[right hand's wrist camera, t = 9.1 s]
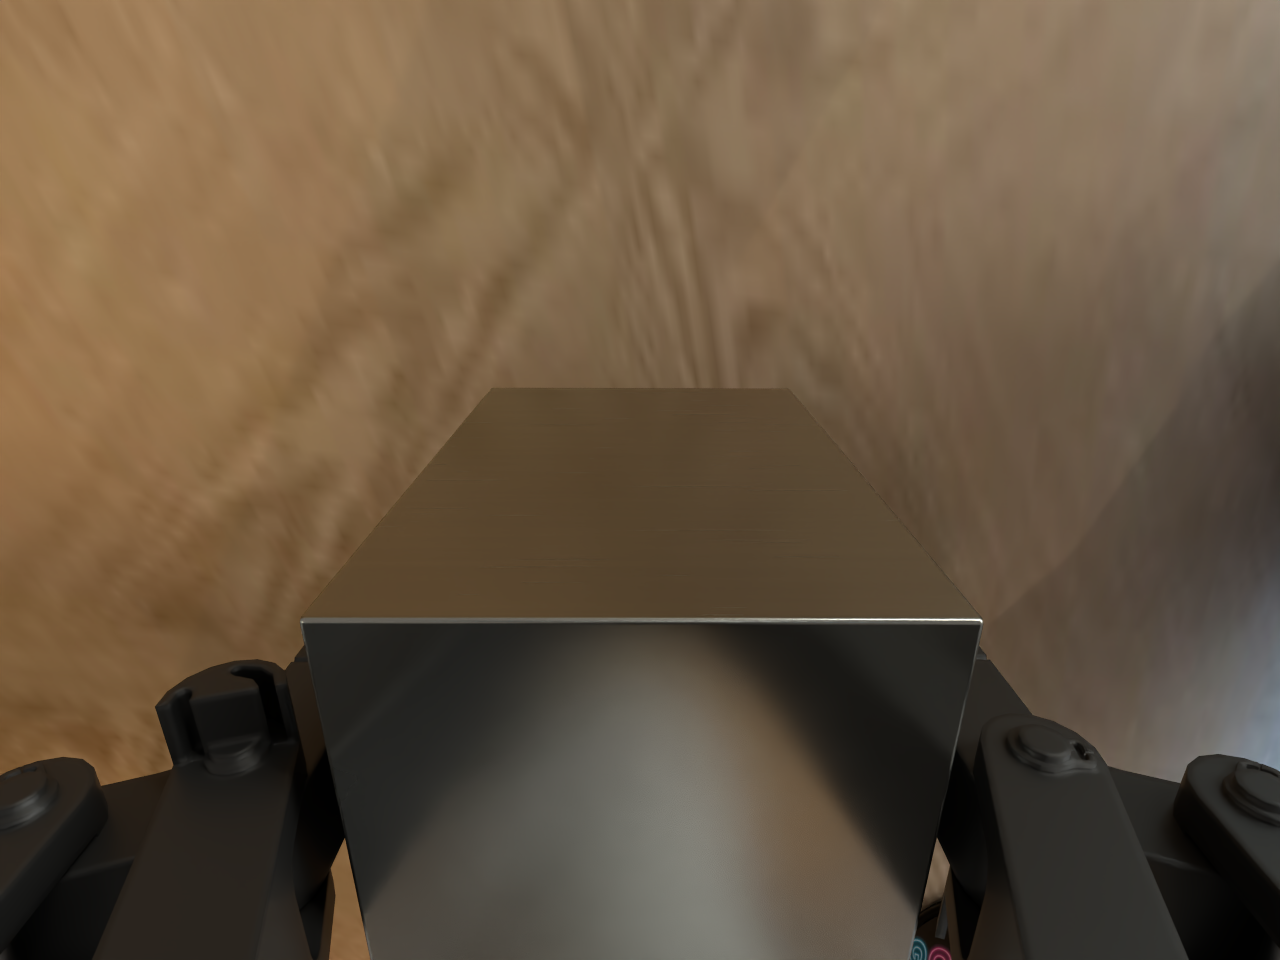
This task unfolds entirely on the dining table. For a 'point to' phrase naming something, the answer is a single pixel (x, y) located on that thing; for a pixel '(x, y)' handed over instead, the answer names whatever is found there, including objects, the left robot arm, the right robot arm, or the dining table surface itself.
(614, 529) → the bar
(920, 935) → the supplement container
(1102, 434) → the dining table surface
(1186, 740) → the dining table surface
